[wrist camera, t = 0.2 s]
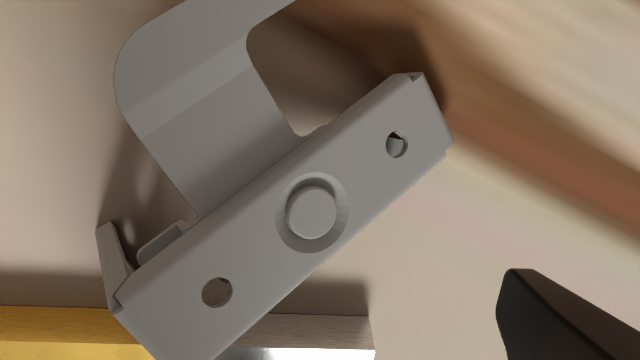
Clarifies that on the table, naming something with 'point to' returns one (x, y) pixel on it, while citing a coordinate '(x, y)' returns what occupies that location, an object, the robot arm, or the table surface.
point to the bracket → (247, 177)
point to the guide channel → (130, 356)
